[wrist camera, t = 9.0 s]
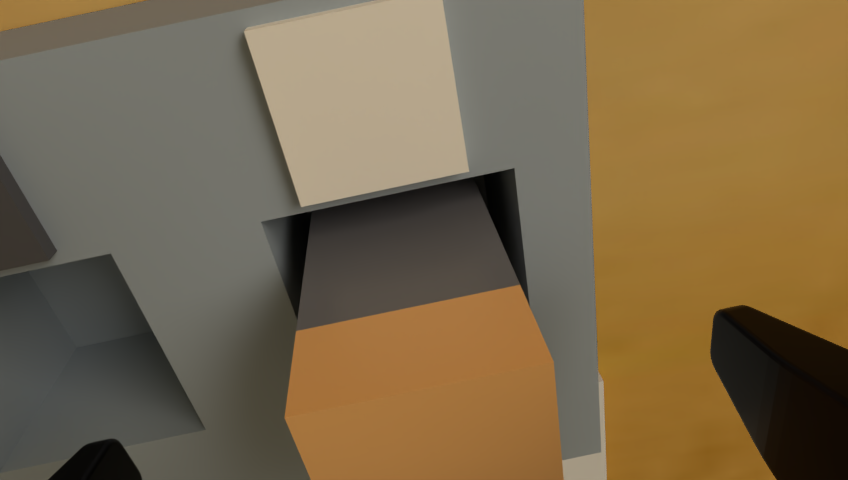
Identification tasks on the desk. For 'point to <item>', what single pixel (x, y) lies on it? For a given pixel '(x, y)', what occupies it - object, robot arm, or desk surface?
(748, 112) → the desk surface
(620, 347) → the desk surface
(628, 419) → the desk surface
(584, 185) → the port block
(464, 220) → the plug
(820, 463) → the robot arm
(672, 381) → the desk surface
